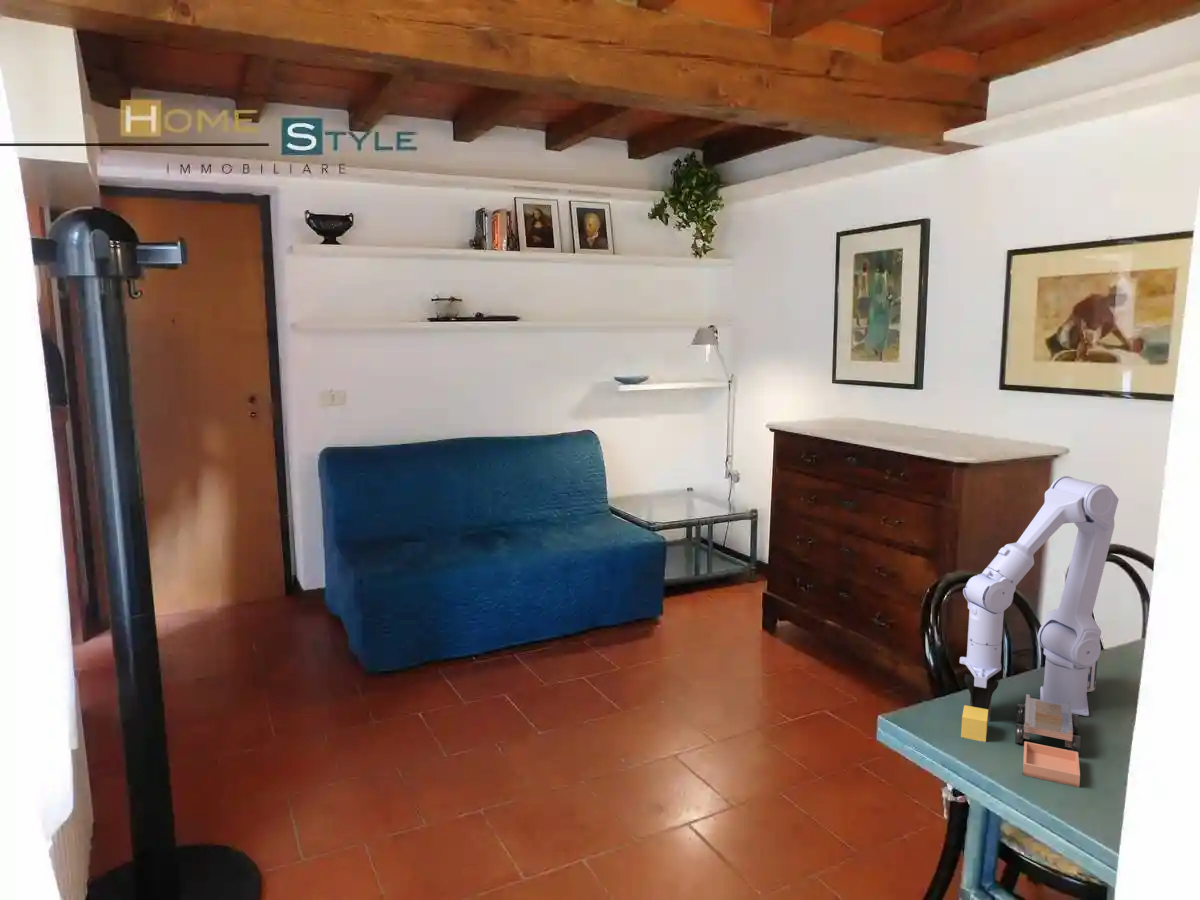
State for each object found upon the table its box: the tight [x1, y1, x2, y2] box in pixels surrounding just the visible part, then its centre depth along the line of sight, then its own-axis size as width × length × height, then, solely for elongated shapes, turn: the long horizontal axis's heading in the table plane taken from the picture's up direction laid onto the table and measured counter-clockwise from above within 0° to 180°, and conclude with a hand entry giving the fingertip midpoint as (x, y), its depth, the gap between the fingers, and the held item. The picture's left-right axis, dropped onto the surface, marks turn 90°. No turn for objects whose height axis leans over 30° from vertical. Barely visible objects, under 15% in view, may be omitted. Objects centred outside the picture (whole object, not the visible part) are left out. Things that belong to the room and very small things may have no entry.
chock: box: [960, 704, 989, 743], centre depth 147 cm, size 5×4×4 cm
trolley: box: [1014, 693, 1082, 757], centre depth 145 cm, size 12×10×6 cm
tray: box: [1022, 740, 1081, 788], centre depth 135 cm, size 8×8×2 cm
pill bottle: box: [1087, 658, 1099, 693], centre depth 164 cm, size 5×5×10 cm
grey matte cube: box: [969, 694, 993, 722], centre depth 153 cm, size 4×4×5 cm
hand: (980, 708), depth 153 cm, fingers closed on grey matte cube, 3 cm apart
